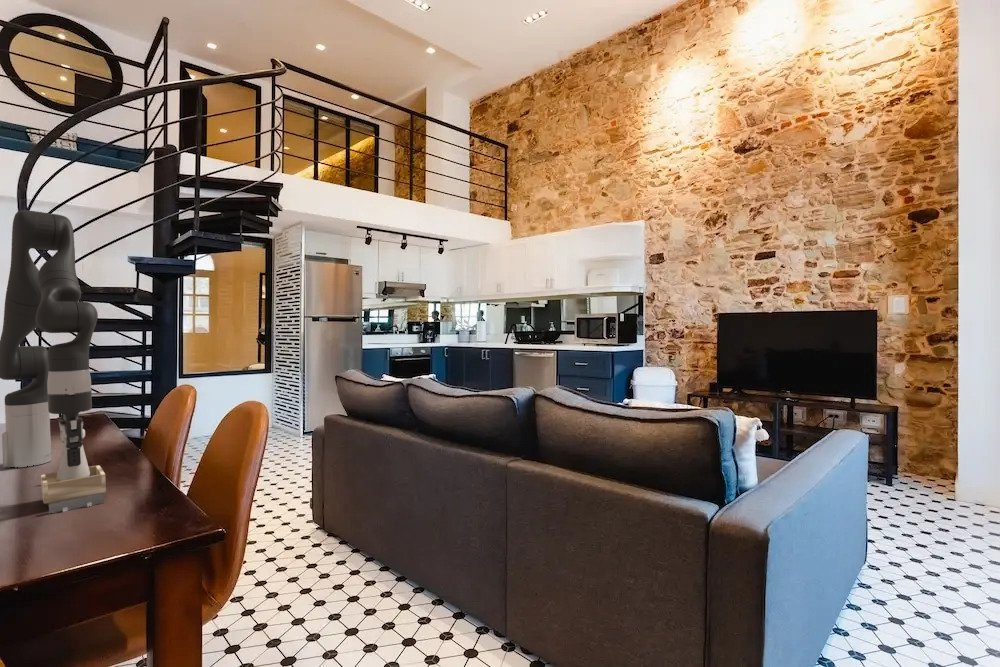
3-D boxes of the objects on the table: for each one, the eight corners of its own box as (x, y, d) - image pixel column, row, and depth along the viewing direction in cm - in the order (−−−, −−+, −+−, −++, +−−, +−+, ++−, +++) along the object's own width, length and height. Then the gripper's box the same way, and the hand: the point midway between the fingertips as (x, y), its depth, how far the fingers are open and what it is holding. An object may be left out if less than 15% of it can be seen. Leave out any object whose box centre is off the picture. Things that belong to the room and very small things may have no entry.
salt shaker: (96, 482, 118) (96, 426, 118) (73, 490, 112) (73, 431, 112) (73, 482, 119) (73, 426, 119) (49, 490, 113) (48, 431, 113)
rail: (42, 484, 126) (42, 476, 126) (89, 476, 132) (89, 468, 132) (49, 514, 106) (49, 505, 106) (104, 503, 112) (103, 494, 112)
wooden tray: (44, 510, 108) (43, 484, 107) (41, 498, 115) (40, 474, 115) (106, 497, 115) (105, 474, 115) (100, 487, 122) (99, 465, 122)
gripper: (45, 389, 117) (48, 459, 118) (49, 395, 107) (52, 472, 108) (87, 386, 123) (89, 453, 123) (95, 391, 112) (97, 465, 113)
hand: (72, 462), depth 115 cm, fingers open, 8 cm apart
